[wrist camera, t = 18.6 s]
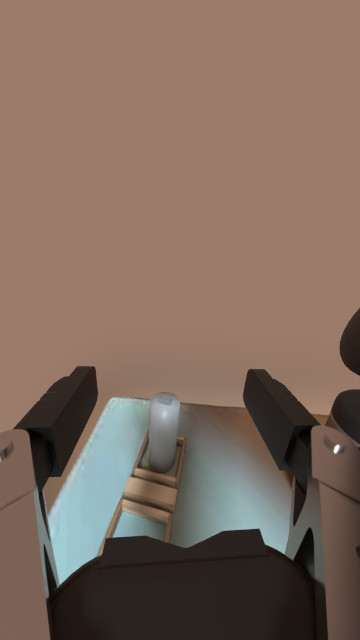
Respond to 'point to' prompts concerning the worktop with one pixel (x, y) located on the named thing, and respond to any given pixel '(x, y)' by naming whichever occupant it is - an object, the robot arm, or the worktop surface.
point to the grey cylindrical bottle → (163, 431)
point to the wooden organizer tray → (150, 491)
